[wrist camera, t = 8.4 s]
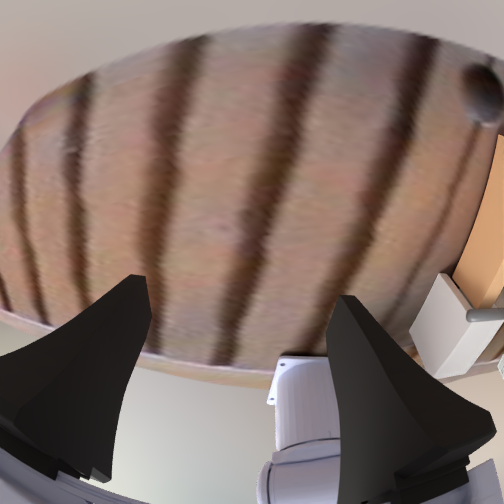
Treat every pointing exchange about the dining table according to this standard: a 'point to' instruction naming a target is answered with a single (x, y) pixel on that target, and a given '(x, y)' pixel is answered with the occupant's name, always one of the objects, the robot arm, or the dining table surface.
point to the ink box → (501, 366)
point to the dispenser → (452, 329)
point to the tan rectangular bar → (486, 242)
